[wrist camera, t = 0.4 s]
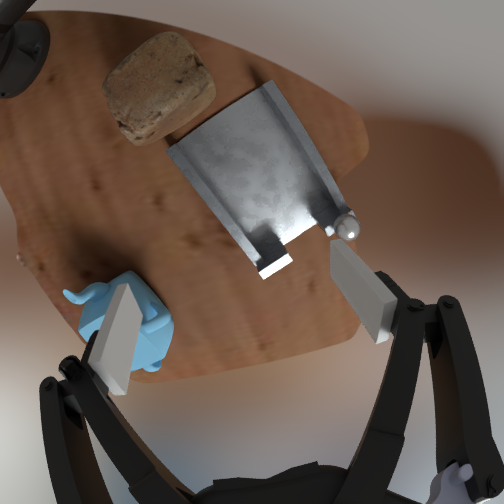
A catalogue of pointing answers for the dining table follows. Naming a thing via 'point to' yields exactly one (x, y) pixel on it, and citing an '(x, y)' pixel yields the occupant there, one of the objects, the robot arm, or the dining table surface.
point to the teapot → (152, 326)
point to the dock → (263, 177)
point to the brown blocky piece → (158, 88)
